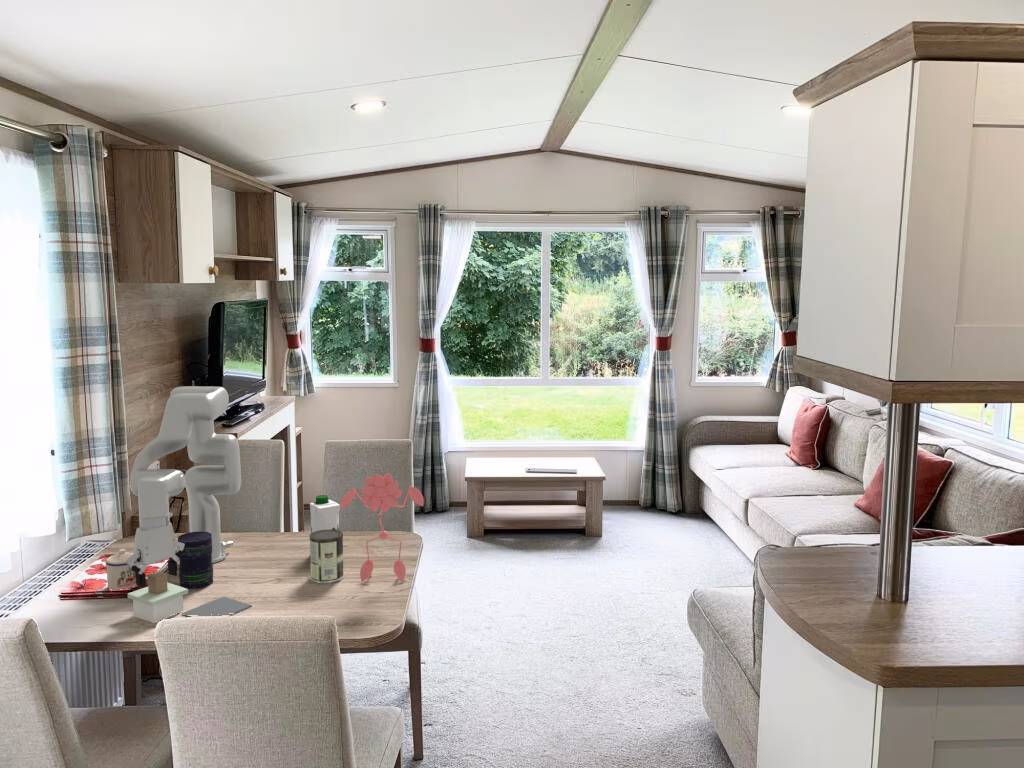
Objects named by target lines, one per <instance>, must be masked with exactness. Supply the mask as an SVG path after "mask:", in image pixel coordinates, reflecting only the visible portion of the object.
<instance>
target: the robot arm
mask: <svg viewBox="0 0 1024 768" xmlns="http://www.w3.org/2000/svg"><path fill="white" fill-rule="evenodd" d="M169 396H170V397H169V398H168V400H167V401H166V404H165V408H164V409H165V410H164V413H163V416H162V421H161V425H160V428H159V433H158V435H157V437H155V438H154V439H153V440H151V441H150V442H149V443H148V444H146V446H144V447H143V448H142V449H141V450H140V451H139V452H138V454H137V456H136V458H135V460H134V461H133V462H134V463H133V466H132V470H131V474H130V478H129V489H130V491H131V493H132V494H133V495H135V496H137V500H138V501H137V503H138V521H139V527H137V528H136V531H135V536H134V546H133V552H134V554H133V555H132V556H130V557H129V558H128V559H127V560H126V564H127V565H128V567H129V569H131V570H132V571H133V572H135V574H136V584H137V586H138V587H139V588H141V589H142V588H145V587H147V580H146V577H147V576H146V573H145V571H146V569H147V567H148V566H150V565H154V564H156V563H159V562H162V561H166V560H168V561H167V573H168V574H167V575H169V576H173V577H177V576H178V572H179V568H178V562H180V561H179V558H180V556H181V555H182V550H183V548H184V546H185V544H184V543H181V542H178V540H177V541H176V537H175V531H174V528H173V524H172V522H170V519H171V518H172V517H173V512H170V505H169V504H170V503H169V499H170V498H172V497H176V496H178V495H179V494H181V493H182V492H183V490H184V489H185V490H186V495H187V500H188V503H187V504H188V518H189V533H190V532H209V533H211V534H212V538H211V539H212V549H213V550H212V564H216V563H218V562H221V561H223V560H224V559H226V557H227V552H226V551H225V550H226V549H227V548H230V547H232V546H233V545H234V544H233V543H234V542H233V541H232V540H229V541H224V540H223V541H222V540H221V539H222V538H221V535H222V534H221V510H220V509H221V507H220V504H219V501H218V500H217V499H216V497H215V495H234V494H237V493H238V492H239V490H240V489H241V485H242V472H241V471H242V469H241V450H240V445H239V444H240V443H239V441H238V438H237V437H236V436H235V435H233V434H229V433H216V432H215V424H214V423H215V422H214V421H215V420H216V419H217V418H219V417H220V416H222V415H223V414H224V413H225V411H226V410H227V409H228V407H229V403H230V402H229V399H230V398H229V393H228V391H227V390H226V388H225V387H222V386H198V385H197V386H196V385H195V386H192V385H191V386H190V385H189V386H177V387H175V388H173V389H172V390H171V391H170V395H169ZM186 446H187V455H188V458H189V460H190V461H191V462H193V463H195V464H197V463H198V464H199V463H201V464H222V465H196V466H195V465H194V466H192V467H190V468H189V469H187V470H186V472H185V474H184V473H183V471H181V470H179V469H175V468H173V469H172V468H171V469H169V468H168V469H167V468H166V469H165V468H164V469H162V468H155V469H154V468H151V469H150V466H151V465H153V463H155V462H156V461H157V460H159V459H160V458H163V457H165V456H167V455H169V454H172V453H174V452H178V451H179V450H182V449H184V448H185V447H186ZM176 547H177V548H176ZM134 561H135V562H137V564H136V566H135V564H134Z"/></svg>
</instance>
